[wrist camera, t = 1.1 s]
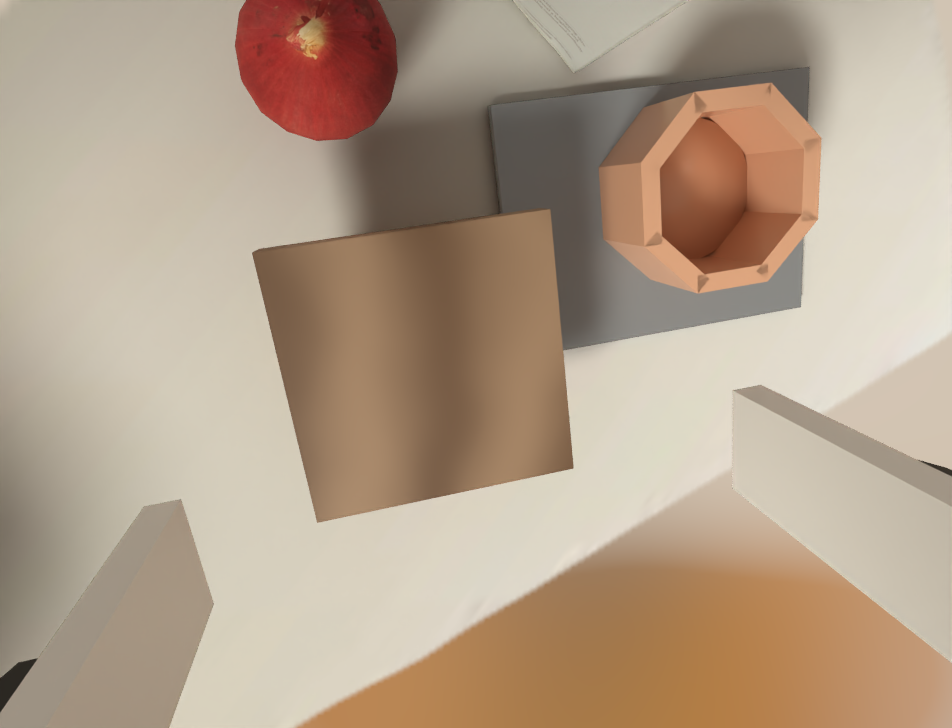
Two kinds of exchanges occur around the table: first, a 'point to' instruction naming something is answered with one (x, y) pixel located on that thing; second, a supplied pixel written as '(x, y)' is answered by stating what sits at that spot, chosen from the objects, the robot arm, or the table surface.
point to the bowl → (712, 187)
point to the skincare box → (592, 24)
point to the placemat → (580, 218)
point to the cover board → (421, 359)
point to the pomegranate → (317, 63)
